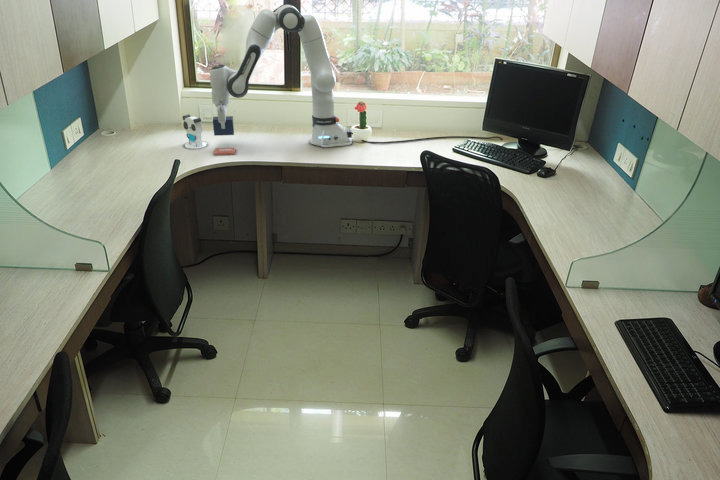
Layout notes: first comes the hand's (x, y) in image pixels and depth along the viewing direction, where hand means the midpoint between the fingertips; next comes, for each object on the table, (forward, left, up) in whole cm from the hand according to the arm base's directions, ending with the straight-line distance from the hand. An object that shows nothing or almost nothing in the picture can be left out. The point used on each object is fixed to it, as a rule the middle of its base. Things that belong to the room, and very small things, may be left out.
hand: (223, 126), depth 318 cm
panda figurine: (+16, -5, -11) cm, 20 cm away
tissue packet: (0, +8, -11) cm, 14 cm away
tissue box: (0, 0, -4) cm, 4 cm away
